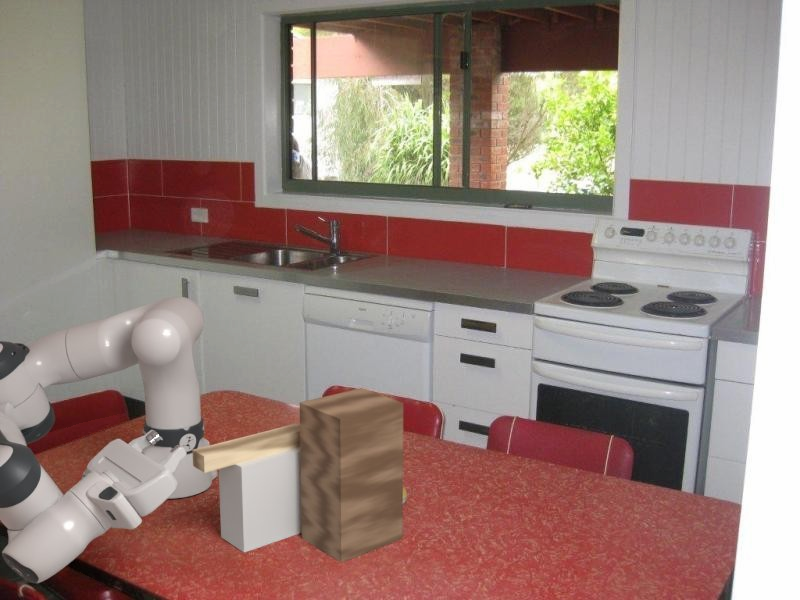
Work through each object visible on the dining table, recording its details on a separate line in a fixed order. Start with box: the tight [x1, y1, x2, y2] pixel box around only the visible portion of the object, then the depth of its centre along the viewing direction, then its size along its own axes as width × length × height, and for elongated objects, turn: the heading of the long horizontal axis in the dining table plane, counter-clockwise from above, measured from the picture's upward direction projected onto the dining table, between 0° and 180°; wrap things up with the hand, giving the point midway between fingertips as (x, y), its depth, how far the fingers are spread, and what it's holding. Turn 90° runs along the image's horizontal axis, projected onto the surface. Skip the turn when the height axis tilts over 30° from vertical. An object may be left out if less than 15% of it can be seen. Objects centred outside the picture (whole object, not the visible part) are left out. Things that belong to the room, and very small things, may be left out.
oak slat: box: [192, 422, 300, 473], centre depth 166 cm, size 4×22×3 cm, turn 131°
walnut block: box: [299, 387, 404, 563], centre depth 167 cm, size 12×14×26 cm
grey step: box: [218, 447, 302, 553], centre depth 170 cm, size 8×15×16 cm, turn 131°
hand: (169, 440), depth 154 cm, fingers open, 8 cm apart
